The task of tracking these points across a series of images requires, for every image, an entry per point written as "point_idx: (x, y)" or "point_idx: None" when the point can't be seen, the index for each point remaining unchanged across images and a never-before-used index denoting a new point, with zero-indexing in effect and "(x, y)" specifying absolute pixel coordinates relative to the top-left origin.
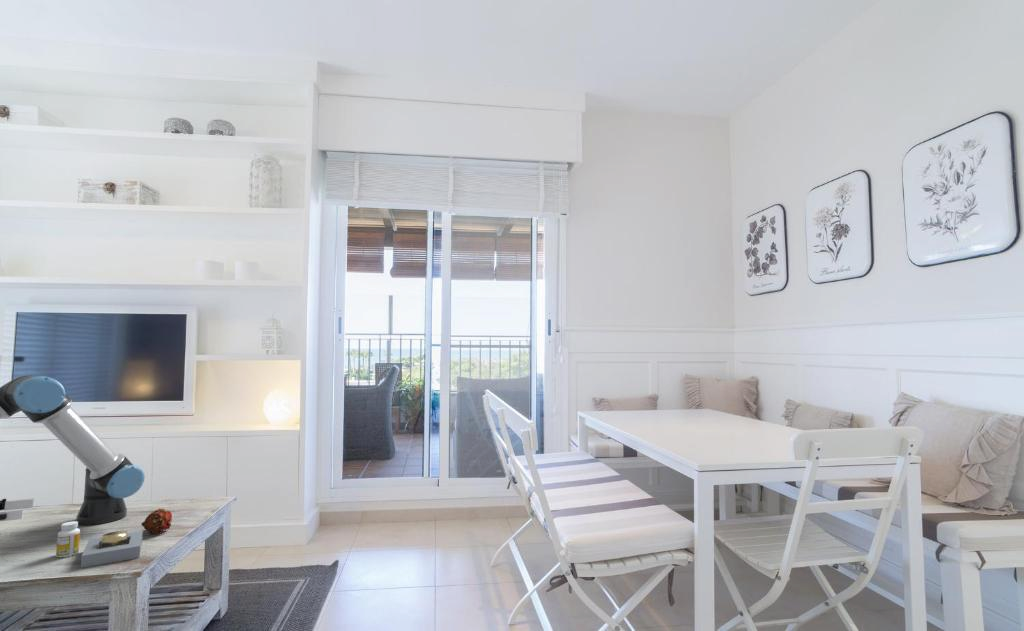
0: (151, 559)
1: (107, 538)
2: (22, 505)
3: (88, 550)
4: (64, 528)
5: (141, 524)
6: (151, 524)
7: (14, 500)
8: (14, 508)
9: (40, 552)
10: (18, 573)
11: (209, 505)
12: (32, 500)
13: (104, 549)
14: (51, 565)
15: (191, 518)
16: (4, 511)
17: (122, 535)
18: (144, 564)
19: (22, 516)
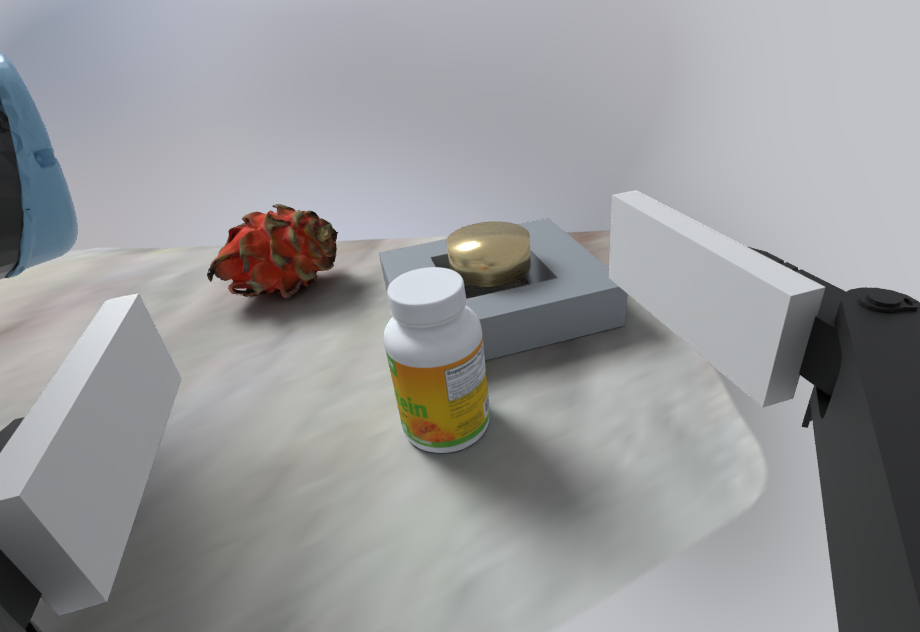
0: (569, 233)
1: (529, 239)
2: (143, 406)
3: (569, 289)
4: (464, 302)
5: (262, 286)
6: (325, 248)
7: (33, 417)
8: (131, 488)
9: (342, 565)
10: (688, 494)
11: (58, 269)
12: (143, 312)
13: (565, 262)
14: (585, 416)
15: (191, 265)
16: (720, 240)
17: (507, 222)
18: (607, 232)
19: (612, 260)
